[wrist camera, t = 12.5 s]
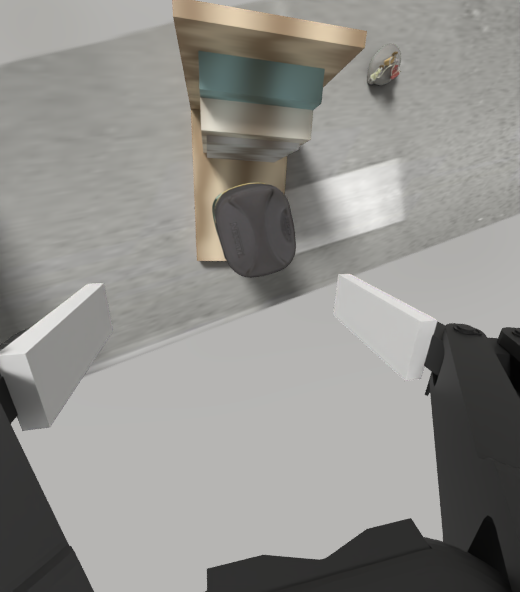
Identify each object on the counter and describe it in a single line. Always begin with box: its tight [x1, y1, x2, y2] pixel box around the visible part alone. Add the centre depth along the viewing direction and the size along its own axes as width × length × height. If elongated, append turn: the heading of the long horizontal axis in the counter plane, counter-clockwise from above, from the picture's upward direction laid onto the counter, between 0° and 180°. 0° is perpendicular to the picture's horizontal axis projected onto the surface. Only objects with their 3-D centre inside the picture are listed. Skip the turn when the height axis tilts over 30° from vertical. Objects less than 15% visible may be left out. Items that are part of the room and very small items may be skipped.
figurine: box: [367, 44, 401, 85], centre depth 38 cm, size 5×4×6 cm
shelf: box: [172, 0, 367, 261], centre depth 32 cm, size 14×22×22 cm, turn 178°
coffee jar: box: [212, 183, 296, 277], centre depth 34 cm, size 10×8×19 cm
